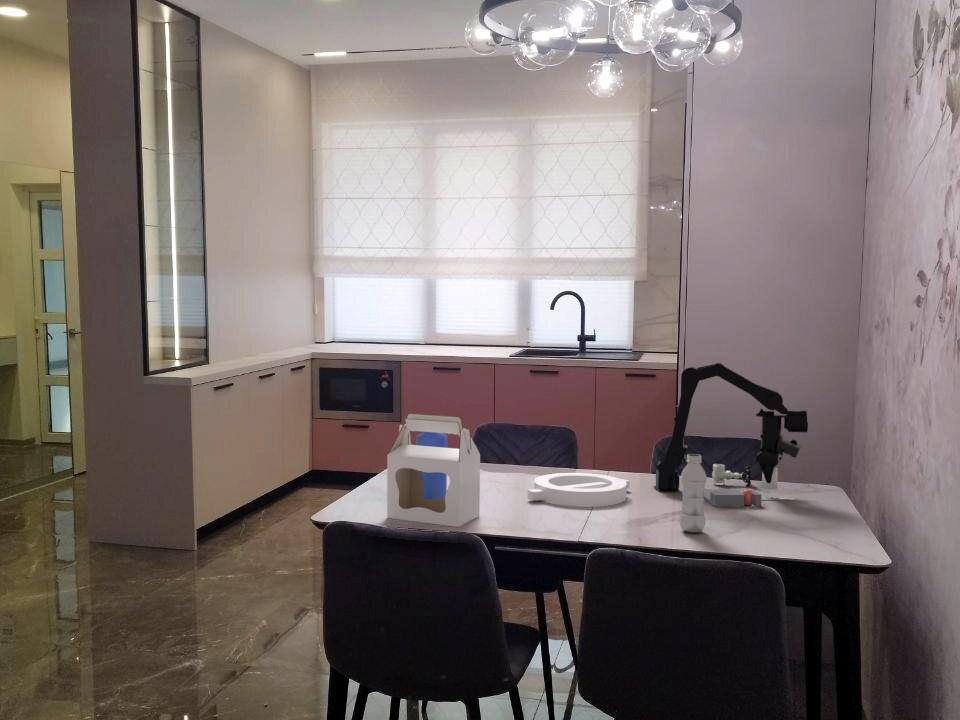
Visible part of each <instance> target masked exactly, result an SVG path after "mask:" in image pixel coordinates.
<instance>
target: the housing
mask: <svg viewBox="0 0 960 720" xmlns="http://www.w3.org/2000/svg"><path fill="white" fill-rule="evenodd" d="M759 493H760V492H757V491H752V504H751V505H752V506H753V505H754V507H762V500H761V496H762V495H761V494H759ZM703 498H704V500H703V501H705V502H706V501H707V502H706V503H708V504H709V503H710V504H709V505H711V506H712V505H713V507H714V508H729V507H730V508H736V507H737V508H741V507H742V508H743V507H744V508H745V504H744V494H743V491H739V490H738V489H736V488H705V489H704V497H703Z"/></svg>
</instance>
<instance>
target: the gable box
mask: <svg viewBox="0 0 960 720" xmlns="http://www.w3.org/2000/svg"><path fill="white" fill-rule="evenodd" d="M404 420H405V424H399V428H398V434H397V436H396V438H395V439H394V441H393V444H392V446H391V448H390V449H389V451H388V453H387V456H386V457H387V462H386V464H387V465H386V467H387V468H386V470H387V471H386V473H387V474H386V476H387V477H386V478H387V479H386V481H387V483H386V484H387V485H386V489H387V490H386V491H387V493H386V498H387V499H386V509H387V510H386V515H387V516H386V517H387V519H392V520H400V521H409V522H415V523H423V524H432V525H438V526H445V527H446V526H447V527H455V528H459V527H462V526H464V525H465V524H467V523H469V522H471V521H473V520H475V519H477V518H478V517H480V506H481V505H480V503H481V502H480V500H481V499H480V498H481V496H480V494H481V486H480V485H481V454H480V451H479V450H478V447H477V445H476V444H475V442H474V440H473V439H472V437H471V430H470V429H467V428H465V427H464V426H463V420H462V418H461V417H458V416H447V415H433V414H432V415H431V414H422V413H421V414H419V413H409V414H408V415H407V417H406V418H404ZM411 432H421V433H423V432H435V433H443V434H449V435H452V434H453V435H454V436H455V435H458V437H459V446H458V447H459V448H458V447H457V448H456V447H448V446H447V447H437V446H425V445H416V444H412V441H411ZM420 471H422V472H427V473H432V472H440V473H444V474H447V477H449V485H448V486H447V492H446V495H445V498H444V497H440V498H433V499H428V498H425V497H424V496H423V493H422V491H423V479H422V476H421V473H420Z"/></svg>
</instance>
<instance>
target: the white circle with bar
mask: <svg viewBox="0 0 960 720" xmlns="http://www.w3.org/2000/svg"><path fill="white" fill-rule="evenodd" d="M630 482H631V481H630V480H627V479H623V478H618V477H616V476H611V475H606V474H600V473H599V474H598V473H589V472H588V473H587V472H559V473H550V474H543V475H540V476H537V477H536V478H535V479H534V484H533V485H534V486H533V488H532V489H527V499H529V500H531V501H542V502H544V503H548V504H553V505H558V506H565V507H566V506H568V507H583V508H586V507H587V508H592V507H593V508H594V507H595V508H596V507H607V506H608V507H609V506H613V505H617V504H621V503H623V501H626V500H627V490H629V489H630V487H631V486H630Z"/></svg>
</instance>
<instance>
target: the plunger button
mask: <svg viewBox="0 0 960 720" xmlns="http://www.w3.org/2000/svg"><path fill="white" fill-rule="evenodd" d="M752 492H753V490H752V489H742V493H743V494H744V506H745V505H746V506H750V505H752Z"/></svg>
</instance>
